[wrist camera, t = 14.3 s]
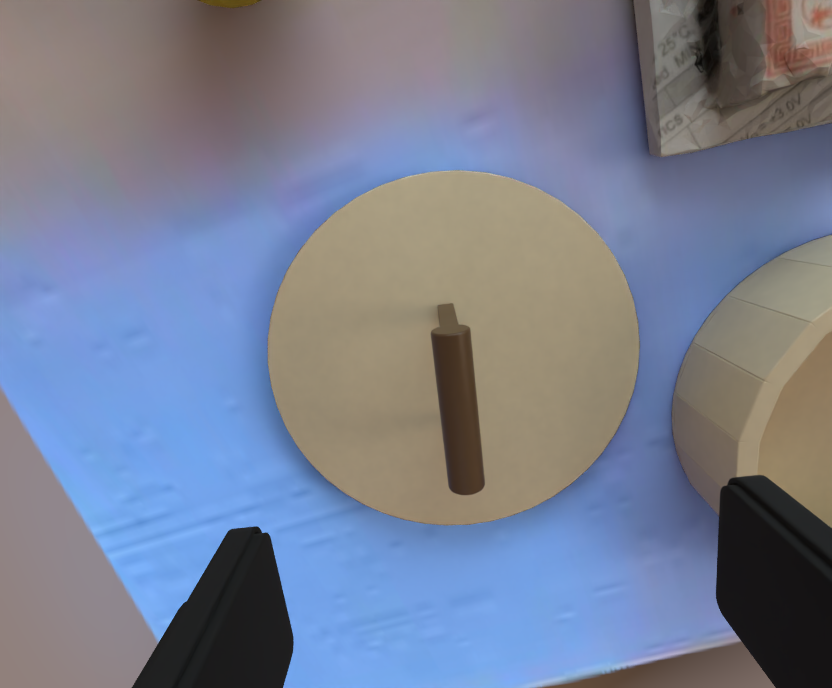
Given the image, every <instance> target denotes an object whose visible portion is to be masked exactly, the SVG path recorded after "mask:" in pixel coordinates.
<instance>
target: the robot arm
mask: <svg viewBox="0 0 832 688" xmlns="http://www.w3.org/2000/svg"><path fill="white" fill-rule="evenodd" d="M716 599H717V603H718V606H719V609H720V611H721V613H722V615H723V616H724V618H725V619H726V621H727V622H728V623H729V625H730V626H731V627H732V629H733V630H734V631H735V633H736V634H737V636H738V637H739V638H740V640H741V641H742V642H743V644H744V645H745V646H746V648H747V649H748V650H749V652H750V653H751V655H752V656H753V657H754V659H755V660H756V661H757V663H758V664H759V665H760V667H761V668H762V670H763V671H764V672H765V674H766V675H767V676H768V678H769V679H770V680H771V682H772V683H773V684H774V686H775V687H776V688H832V528H831V527H830V526H828V525H827V524H826V523H825V522H823V521H822V520H821V519H819V518H818V517H817V516H816V515H814V514H813V513H812V512H811V511H809V510H808V509H807V508H805V507H804V506H803V505H802V504H800V503H799V502H798V501H797V500H795V499H794V498H793V497H792V496H790V495H789V494H788V493H786V492H785V491H784V490H783V489H781V488H780V487H779V486H778V485H776V484H775V483H774V482H772V481H771V480H770V479H769V478H767V477H766V476H764V475H752V476H743V477H733V478H731V479H729V481H728V484H727V486H723V487H722V488H721V491H720V507H719V532H718V557H717V581H716ZM292 653H293V633H292V629H291V624H290V620H289V616H288V611H287V607H286V603H285V598H284V594H283V590H282V585H281V581H280V577H279V573H278V568H277V564H276V560H275V555H274V551H273V547H272V542H271V538H270V535H269V534H268V533H262V532H261V530H260V528H259V527H247V528H237V529H231V530H229V531H228V533H227V534H226V536H225V538H224V539H223V541H222V543H221V544H220V546H219V548H218V549H217V551H216V553H215V554H214V556H213V558H212V560H211V561H210V563H209V565H208V566H207V568H206V570H205V571H204V573H203V575H202V577H201V578H200V580H199V582H198V583H197V585H196V587H195V588H194V590H193V592H192V593H191V595H190V597H189V599H188V600H187V602H185V603H183V605H182V606H181V607H180V609H179V610H178V611H177V613H176V615H175V616H174V618H173V620H172V621H171V623H170V625H169V627H168V628H167V630H166V632H165V633H164V635H163V637H162V638H161V640H160V642H159V643H158V645H157V647H156V648H155V650H154V652H153V653H152V655H151V657H150V658H149V660H148V662H147V663H146V665H145V667H144V668H143V670H142V672H141V673H140V675H139V677H138V678H137V680H136V682H135V683H134V685H133V687H132V688H283V685H284V682H285V678H286V675H287V671H288V668H289V664H290V661H291V657H292Z"/></svg>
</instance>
